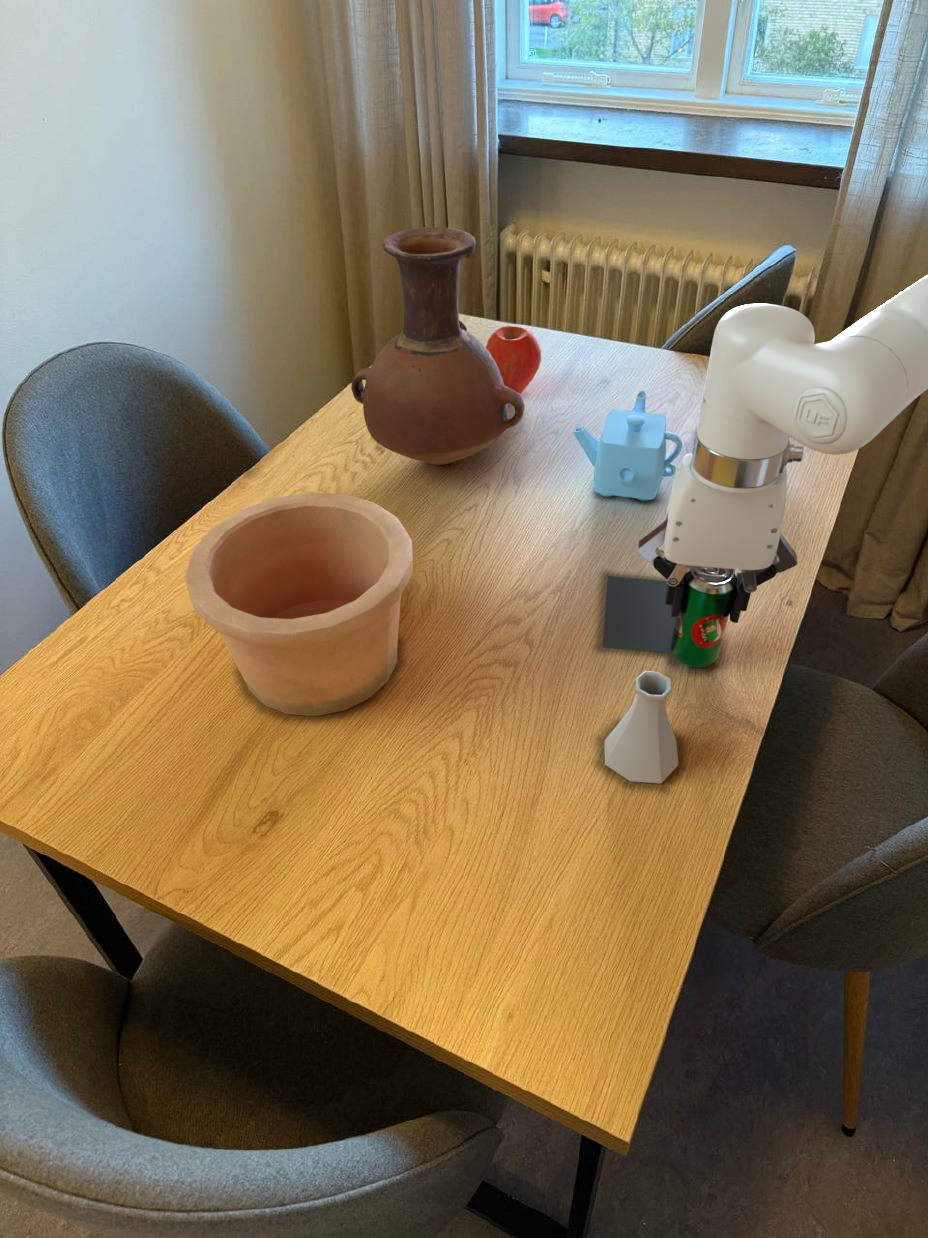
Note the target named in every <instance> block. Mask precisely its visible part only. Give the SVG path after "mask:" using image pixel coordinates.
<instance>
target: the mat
mask: <svg viewBox="0 0 928 1238" xmlns="http://www.w3.org/2000/svg"><path fill="white" fill-rule="evenodd" d="M666 587H667V580H659V579H649V578H648V579H647V578H635V577H625V576H615V575H614V576H613V575H607V583H606V597H605V610H604V611H605V612H604V626H603V636H602V637H603V638H602V648H607V649H616V650H617V649H618V650H628V651H637V652H647V653H648V652H650V653H658V654H667V655H673V654H672V651H671V641H672V636H673V630H674V625H675V620H676V617H671V605H666V604H665V593H666Z"/></svg>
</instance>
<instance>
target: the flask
mask: <svg viewBox="0 0 928 1238" xmlns="http://www.w3.org/2000/svg"><path fill="white" fill-rule="evenodd" d="M672 687H673V686H672V678H670V677H668V676H667V675H666V674H663V673H661V672H660V671H649V670H643V672H642V673H640V674H639V675H638V677H636V678H635V693H636V695H635V698H634V699H633V702H632V703H631V706H630V708H629V709H628V710H627V712H626V713H625V714H624V716H623V717H622V718H621V720H620V721H619V722H618V724H617V725H616V726H615V727H614V728H613V730H611V732H610V733H609V734H608V735H607V737H606V738H605V739H604V766H607V767H608V768H609V769H611V770H612V771H614V772H616V773H617V774H619V775H620V776H622V777H623V778H624V779H625V780H627V781H629V782H635V783H648V784H649V783H650V784H662V783H664V781H665V780H666V779H668V777H669V776H670V775H671V774H672V773H673V772H674V771H675V769H676V768H677V767H678V766H679V755H678V744H677V743H678V742H677V739H676V736H675V732H674V730H673V727H672V725H671V722H670V718H669V715H668V711H667V708H666V707H667V705H666V704H667V698H668V696H670V694H671V693H672V691H673V689H672Z"/></svg>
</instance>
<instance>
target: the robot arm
mask: <svg viewBox="0 0 928 1238" xmlns="http://www.w3.org/2000/svg"><path fill="white" fill-rule="evenodd" d="M815 339H816V334H815V329H814V326H813V324H812V322H811V320H810V319H809V318H808V317H807V316H806V315H804V313H802V312H800V311H798V310H797V309H793V308H791V307H789V306H784V305H781V304H780V305H778V304H773V303H772V304H771V303H749V304H744V305H743V304H742V305H740V306H736V307H734V308H732V309H730V310H729V311H727V312H726V313H725V314H724V315H723V316H722V317H721V318H720V319H719V321H718V322H717V325H716V327H715V329H714V333H713V337H712V343H711V348H710V354H709V360H708V365H707V370H706V377H705V381H704V387H703V394H702V398H701V405H700V410H699V415H698V422H697V427H696V433H695V437H694V444H693V450H692V452H690V453H687V454H685V455H684V457H682V460H681V462H680V464H679V467H678V469H677V471H676V474H675V477H674V480H673V483H672V486H671V491H670V495H669V499H668V503H667V507H666V512H665V517H664V521H663V522H662V523H660V524H659V525H658V526H656V527H655V528H654V529H653V530H651V531H650V532H649V533H648V534H646V535H645V536H643V537H642V538H640V540H638V542H637V546H636V547H637V548H636V552H637V554H638V555H639V556H640V557H641V558H642V559H644V560H645V561H647V562H648V563H650V564H651V565H653V568H654V569H655V570H656V571H657V572H658V573H659V574H660V575H661V576H662V577H663V578H664V579H665V581H667V587H666V593H665V604H666V605H671V617H677V616H679V612H680V607H681V602H682V597H683V591H684V581H683V577H684V575H685V574H686V572H687V570H688V569H689V567H690V565H692V566H703V567H715V568H728V569H735V570H740V572H736V577H737V585H736V589H735V593H734V597H733V601H732V605H731V609H730V613H729V621H730V622H731V623H734V624H738V623H739V618H740V617H741V616H740V615H741V612H747V609H748V606H749V602H750V599H751V596H752V595H751V594H752V593H754V592H756V591H757V590H758V587H759V586H760V585H762V584H765V583H766V582H768V581H770V580H772V579H773V578H775V577H776V576H777V574H779V573H780V574H781V573H783V572H786V571H788V570H790V569H792V568H794V567H796V566H797V565H798V563H799V561H798V556H797V552H796V551H795V550H794V549H793V547H792V546H791V544H790V542H788V540H787V539H786V537H785V536H784V535H783V534H782V529H783V527H782V526H783V522H784V514H785V508H786V501H787V500H786V498H787V487H788V483H787V481H788V479H787V477H788V475H787V474H788V472H787V471H788V469H787V464H792V463H801V462H802V461H803V456H804V447H806V448H808V449H810V450H813V451H815V452H817V453H820V454H826V455H834V456H835V455H845V454H850V453H853V452H855V451H858V450H859V449H862V448H863V447H865V446H866V445H867V444H869V443H870V442H871V441H872V440H874V439H875V438H876V437H877V436H878V435H879V434H880V433H881V432H882V431H883V430H884V429H886V427H887V426H888V425H889V424H890V423H891V422H893V420H895V418H897V416H899V415H900V414H901V413H902V412H903V411H904V410H905V409H906V408H907V407H908V406H909V405H910V404H911V403H912V402H913V401H915V400H916V399H917V398H919V396H921V394H923V393H925V392H926V391H927V390H928V274H927V275H925V276H924V277H922V278H920V279H919V280H918V281H916V282H915V283H913V284H912V285H910V286H908V287H907V288H905V289H904V290H903V291H900V292H899V293H898V294H897V295H894V297H892V298H891V299H889V300H887V301H886V302H885V303H883V304H882V305H880V306H878V307H876V309H874V310H872V311H870V312H869V313H868V314H866V315H865V316H863V317H862V318H860V319H859V320H857V321H856V322H855V323H853V324H852V325H850V326H849V327H847V328H846V329H845V330H843V331H842V332H841V333H839V334H838V335H837V336H835V337H834V338H833V339H831V340H830V341H829V340H828V341H825V342H820V343H815ZM790 439H792V440H794V441H795V442H797V443H798V444H800V445H795V444H793V443H791V442H790ZM661 546H663V549H660V547H661Z"/></svg>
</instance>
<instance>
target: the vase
mask: <svg viewBox="0 0 928 1238" xmlns="http://www.w3.org/2000/svg"><path fill="white" fill-rule="evenodd" d="M476 244H477V243H476V238H475V236H474V235H471V233H469V232H466V231H464V230H460V229H457V228H449V227H446V228H445V227H441V226H425V227H424V226H423V227H418V228H411V229H406V230H401V231H397V232H395V233H393V234H390V235H388V236H387V237H385V238H384V239H383V241H382V246H381V247H382V249H383V251H384V252H385V253H387V254H388V255H390V256H392V257H394V258H395V259H396V261H397V264H398V267H399V272H400V279H401V287H402V296H403V297H402V298H403V311H404V312H403V328H402V331H401V332H400V333H397V335H396V336H394V337H392V339H390V340H389V341H388V342H387V343H386V344H385V345H384V346H383V347H382V349H381V350H380V352H379V353H378V354H377V356H376V357H375V359H374V360H373V362H372V364H371V366H370V367H365V368H362V369H361V370H360V371H358V373H357V374H355V376H354V377H353V378H352V380H351V385H350V388H351V392H352V395H353V398H354V399H355V400H356V402H357V403H360V404H362V409H363V417H364V422H365V425H366V428H367V431H368V433H369V435H370V436H371V438H372V439H373V440H374V441H375V442H376V443H377V444H379V445H380V446H382V447H383V448H385V449H387V450H389V451H390V452H394V453H396V454H398V455H401V456H403V457H406V458H409V459H411V460H414V461H418V462H422V463H427V464H431V465H437V466H445V465H449V464H452V463H453V462H454V463H455V462H456V461H459V460H464V459H466V458H469V457H470V456H473V455H475V454H477V453H480V452H481V451H482V450H484V449H486V448H488V447H489V446H490V445H492V444H493V443H494V442H495V441H496V440H497V439H498V438H499V437H500V436H502V435H503V434H504V433H505V432H506V431H507V430H508V429H510V428H512V427H514V426H516V425H517V424H518V423H520V422H521V419H522V418H523V416H524V414H525V413H524V412H525V403H524V399H523V398H522V396H521V394H518V393H517V392H516V391H514V390H513V389H511V388H508V387H506V386H504V383H503V379H502V377H501V374H500V372H499V369H498V367H497V365H496V363H495V360H494V359H493V357H492V355H491V354H490V353H489V351H488V350H487V349H486V347H485V345H484V344H483V343H482V342H481V341H480V340H479V339H478V338H477V337H476V336H474V335H473V334H471V333H470V332H468V328H467V326H466V324H464V322H463V321H461V320H460V315H459V286H460V284H459V283H460V279H459V278H460V266H461V261H462V260H465V259H467V260H472V259H473V258H474V256H475V251H476ZM363 381H364V382H365V383H364V382H363ZM508 405H510V406H512V407H513V408H514V409H513V410H514V414H513V415H512V416H510V415H509V406H508Z"/></svg>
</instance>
